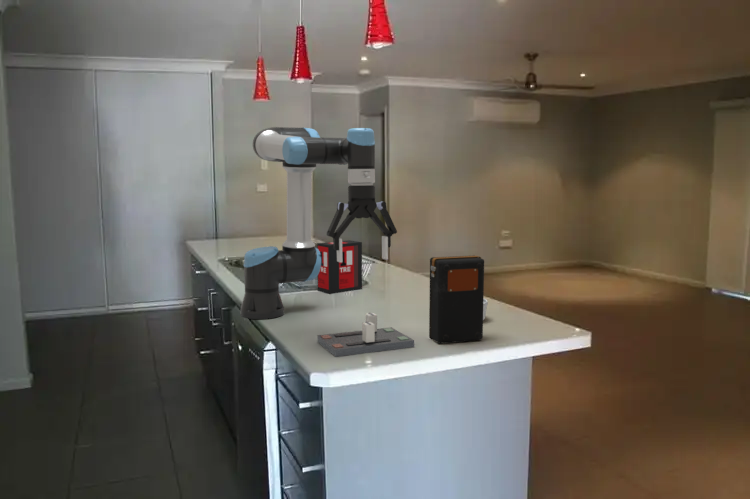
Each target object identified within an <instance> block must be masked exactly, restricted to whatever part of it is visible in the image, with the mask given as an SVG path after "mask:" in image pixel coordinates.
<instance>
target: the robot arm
mask: <svg viewBox="0 0 750 499" xmlns="http://www.w3.org/2000/svg"><path fill="white" fill-rule="evenodd" d="M375 147H376V140H375V132H374V130H373V128H369V127H366V128H365V127H354V128H349V129H347V134H346V137H321V136H320V134H319V132H318V131H317V130H316V129H314V128H308V127H282V126H281V127H279V126H273V127H272V126H271V127H267V128H263V129H262V130H260V131H258V132H257V133H256V135H255V136H254V137H253V139H252V149H253V150H252V151H254V153H255V155H256V156H257V157H258V158H259V159H262V160H264V161H268V162H274V163H275V162H276V163H281V162H282V168H283V169H284V170H285V171H286V240H285V241H284V242H283V243H282V245H281V246H282V249H281V250H279V247H276V246H271V245H269V246H263V247H262V246H261V247H257V248H256V247H255V248H253V249H250V250H248V251H246V252H245V254H244V256H243V258H244V259H243V268H244V269H243V270H244V272H243V273H244V296H243V299H242V303H241V305H240V309H239V310H240V312H239V313H240V317H242V318H245V319H251V320H266V319H267V320H269V319H275V318H280V317H282V316H284V315H285V306H284V303H283V300H282V298H281V294H280V289H279V288H280V286H279V285H280V284H289V283H290V284H291V283H305V282H309V281H314V280H315V279H316V278H317V276H318V274H319V272H320V268H321V257H320V255H321V254H320V251H319V250H318V249H317V247H316V243H315V242H314V241H313V240H312V195H313V194H312V193H313V192H312V191H313V190H312V187H313V186H312V182H313V178H312V176H313V172H314V171H315V170H316V169H317V165H344V166H345V165H346V166H347V182H348V183H347V184H349V186H348V188H347V190H348V191H347V196H348V197H347V198H348V201H347V203H344V202H341V201H340V202H337V205H336V212H335V214H334V216H333V217H332V220H331V222H330V224H329V227H328V229H327V231H326V236H327V237H330V238H332V239H333V240H332V242H333V248H334V250H337V262H343V259H342V241H343V238H340V237H341V236H342V235H343V233H344V232H345V231H346V229H347V228H348V227H349V225H350V224H351V223H352V221H354V220H355V219H362V218H363V219H369V218H370V219H371V221H372V222H373V223H374V224H375V225H376V227H377V228H378V229H379V230H380V231H381V233H382V234H384V235H381V259H383V260H389V248H391V244H392V242H391V240H392V238H391V237H393V235H396V234H397V233H398V231H397V228H396V226H395V224H394V222H393V219H392V218H391V215H390V213H389V212H388V209H387V207H388V206H387V203H386V201H382V200H381V201H379V202H376V186H375V185H374V184H375V183H376V169H375V168H376V167H375V163H376V162H375V161H376V158H375V156H376V154H375V153H376V150H375V149H376V148H375ZM376 208H377V209H378V211H380V213H381V216H382V218H383V220H384V223H383V222H382V220H381V219H380V218H379V216H378V215H377V213H376V212H375V211H376ZM346 209H347V210H348V211H349V213H347V215H346V217H345V219H343V221H342V222H341V219H342V216H343V214H344V211H346ZM340 222H341V224H340V225H339V223H340ZM385 224H386V225H385ZM338 225H339V226H338ZM268 318H269V319H268Z"/></svg>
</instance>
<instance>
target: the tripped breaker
mask: <svg viewBox="0 0 750 499" xmlns="http://www.w3.org/2000/svg"><path fill="white" fill-rule="evenodd" d="M361 331H362V340H363V341H365V342H366V343H368V342H375V324H373V323H371V322H365V321H364V322H362V330H361Z"/></svg>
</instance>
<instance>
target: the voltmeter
mask: <svg viewBox="0 0 750 499" xmlns="http://www.w3.org/2000/svg"><path fill="white" fill-rule="evenodd" d="M484 281H485V259H483V258H482V257H481V256H479V255H475V254H473V255H458V256H457V255H456V256H437V257H435V256H432V257H430V259H429V307H428V308H429V312H428V313H429V314H428V315H429V316H428V318H429V321H428V322H429V323H428V324H429V326H428V328H429V329H428V330H429V331H428V333H429V334H428V337H429V339H430V340H433V341H435V342H437V343H438V344H447V343H459V342H467V341H468V342H471V341H481V340H482V339H483V337H484V336H483V334H484V330H483V329H484V327H483V326H484V320H483V298H484V290H485V288H484V287H485V286H484V285H485V282H484Z"/></svg>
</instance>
